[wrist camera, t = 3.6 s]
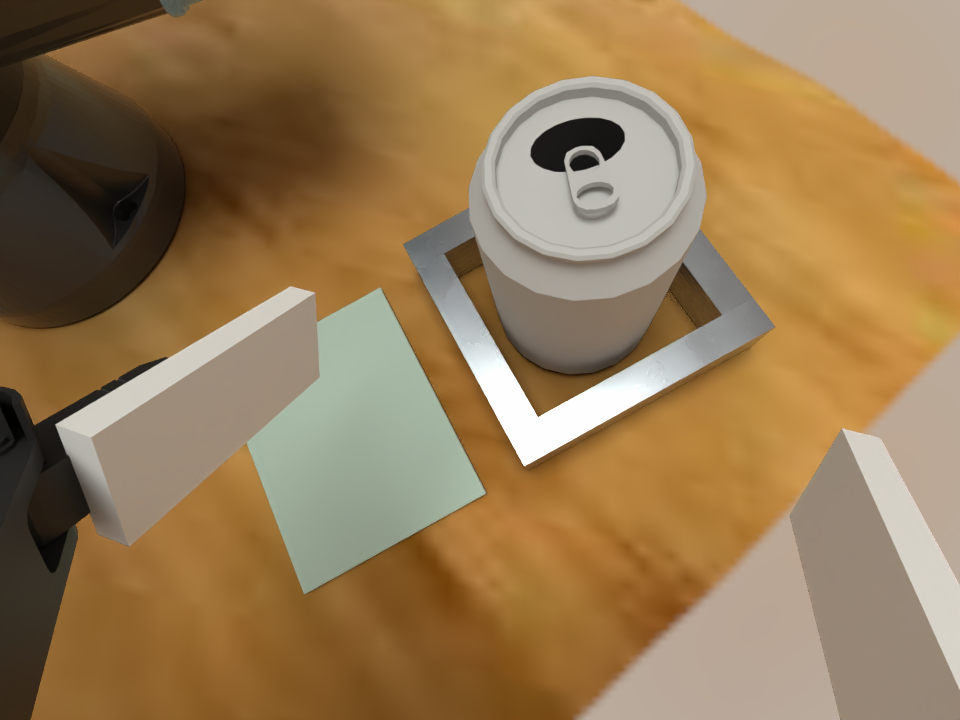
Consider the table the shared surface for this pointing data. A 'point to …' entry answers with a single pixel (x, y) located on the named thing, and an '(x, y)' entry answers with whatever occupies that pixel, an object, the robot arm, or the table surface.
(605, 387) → the holder
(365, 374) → the mat
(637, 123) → the can
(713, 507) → the table surface
